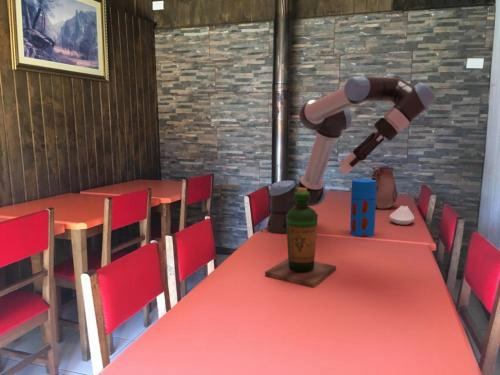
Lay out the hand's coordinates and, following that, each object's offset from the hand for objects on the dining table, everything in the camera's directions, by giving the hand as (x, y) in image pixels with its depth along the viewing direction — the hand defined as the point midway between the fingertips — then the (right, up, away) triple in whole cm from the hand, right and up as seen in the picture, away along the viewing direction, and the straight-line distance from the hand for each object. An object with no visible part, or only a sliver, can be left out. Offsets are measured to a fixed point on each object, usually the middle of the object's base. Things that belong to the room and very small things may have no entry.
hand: (341, 170), depth 133 cm
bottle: (-13, -34, +3) cm, 37 cm away
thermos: (+21, -28, +50) cm, 61 cm away
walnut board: (-13, -35, +3) cm, 38 cm away
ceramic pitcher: (+48, -18, +105) cm, 117 cm away
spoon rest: (+49, -24, +74) cm, 92 cm away
